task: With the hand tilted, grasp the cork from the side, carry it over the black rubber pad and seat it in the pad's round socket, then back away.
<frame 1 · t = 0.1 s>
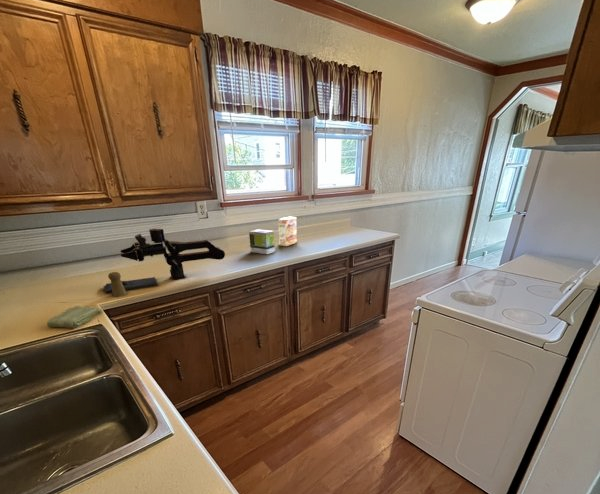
hand: (120, 253, 166), 17 cm above the worktop, tool horizontal, fingers open, 9 cm apart
cork: (119, 294, 161), on the worktop
washcloth: (76, 320, 135), on the worktop
socket pad: (132, 286, 171), on the worktop
tea box: (262, 252, 233), on the worktop
coffeecake box: (288, 244, 256), on the worktop
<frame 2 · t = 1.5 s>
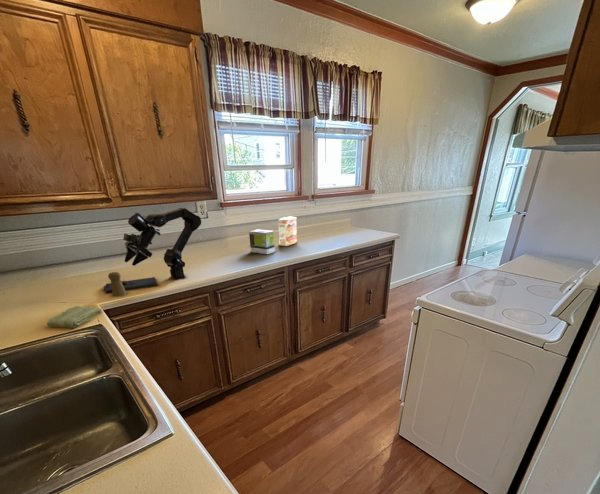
hand: (129, 263, 159), 14 cm above the worktop, tool tilted 45°, fingers open, 9 cm apart
nothing on the worktop moved.
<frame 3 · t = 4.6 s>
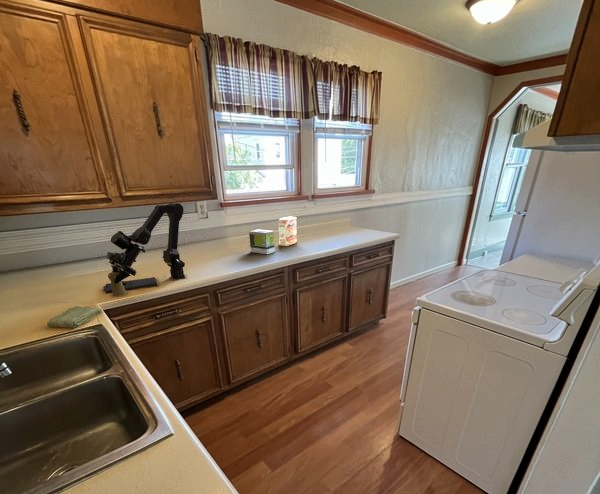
hand: (112, 282, 157), 7 cm above the worktop, tool tilted 45°, fingers closed on cork, 5 cm apart
cork: (119, 294, 161), on the worktop, touching gripper
everything else where it was.
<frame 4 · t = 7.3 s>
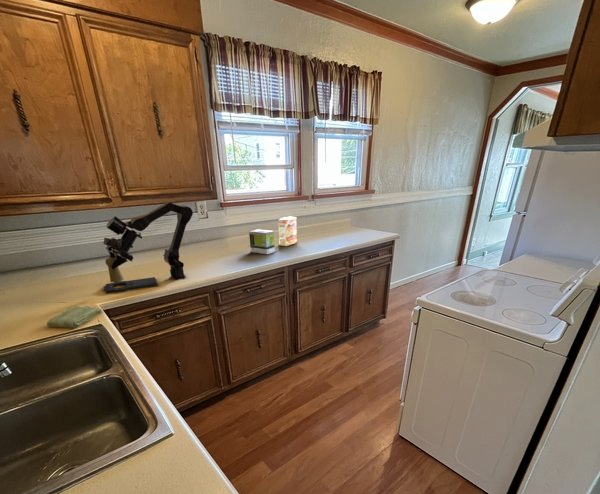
hand: (110, 267, 159), 12 cm above the worktop, tool tilted 45°, fingers closed on cork, 5 cm apart
cork: (117, 280, 163), point 5 cm above the worktop, touching gripper
everything else where it was.
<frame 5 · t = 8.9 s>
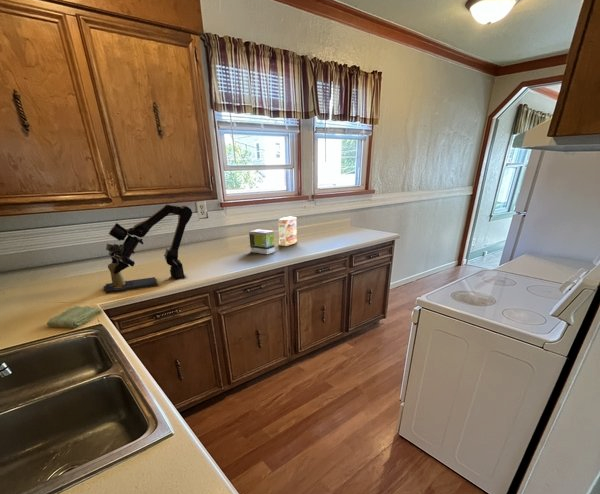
hand: (112, 272, 164), 9 cm above the worktop, tool tilted 45°, fingers closed on cork, 5 cm apart
cork: (119, 284, 168), point 2 cm above the worktop, touching gripper
everything else where it was.
when the fingers open (7 cm above the worktop, at t = 9.9 s): cork stays where it is, resting in socket pad.
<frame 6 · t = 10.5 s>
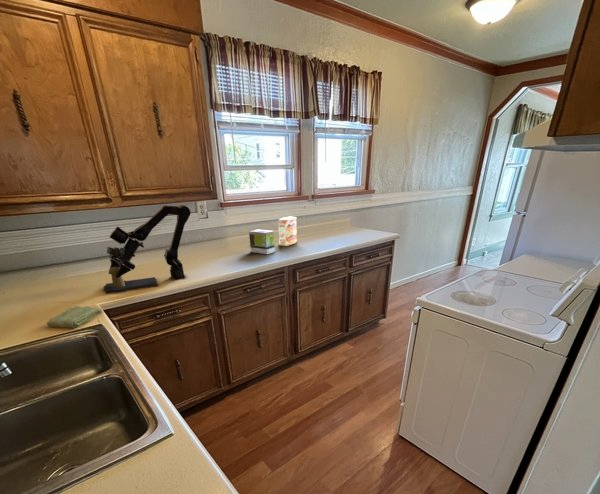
hand: (112, 275, 164), 7 cm above the worktop, tool tilted 45°, fingers open, 9 cm apart
cork: (120, 288, 169), resting in socket pad
everything else where it was.
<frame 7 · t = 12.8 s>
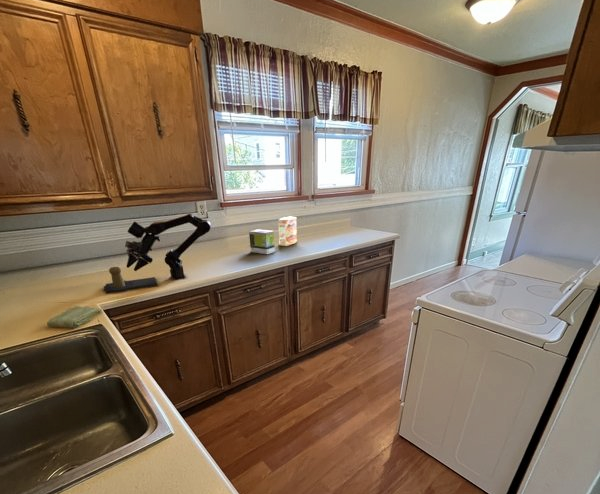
hand: (130, 269, 169), 8 cm above the worktop, tool tilted 45°, fingers open, 9 cm apart
nothing on the worktop moved.
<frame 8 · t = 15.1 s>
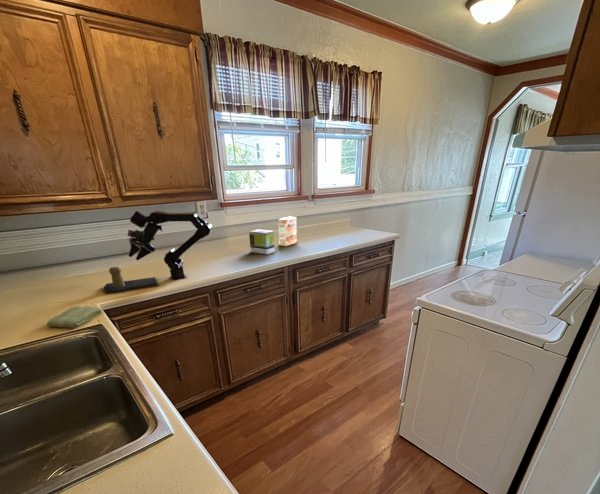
hand: (133, 258, 169), 14 cm above the worktop, tool tilted 45°, fingers open, 9 cm apart
nothing on the worktop moved.
at the end: cork 0.3 cm from the target spot in the socket pad, point 0.0 cm above the socket pad's base; cork tilted 0°; the gripper is holding nothing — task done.
